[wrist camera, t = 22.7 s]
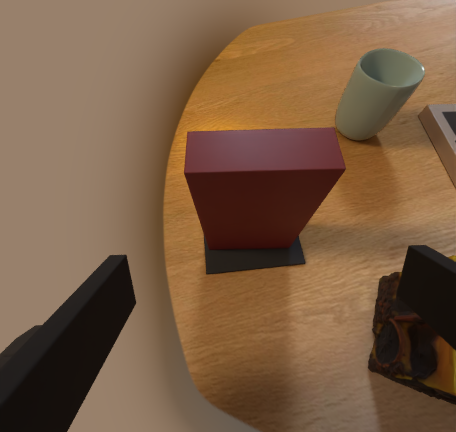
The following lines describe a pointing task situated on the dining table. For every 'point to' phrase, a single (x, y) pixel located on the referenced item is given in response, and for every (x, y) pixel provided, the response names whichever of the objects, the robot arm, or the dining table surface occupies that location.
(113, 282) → the robot arm
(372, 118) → the cup
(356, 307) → the dining table surface
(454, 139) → the picture frame
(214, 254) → the mat
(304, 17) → the dining table surface
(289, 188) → the book
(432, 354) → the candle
